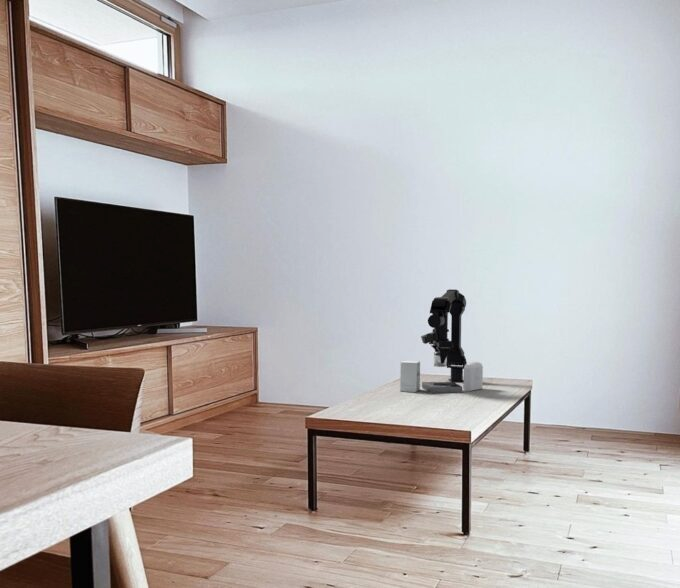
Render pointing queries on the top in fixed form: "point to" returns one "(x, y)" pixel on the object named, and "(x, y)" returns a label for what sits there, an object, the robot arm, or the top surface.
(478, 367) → the photo printer
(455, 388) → the mount plate
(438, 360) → the lens
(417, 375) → the supplement box
